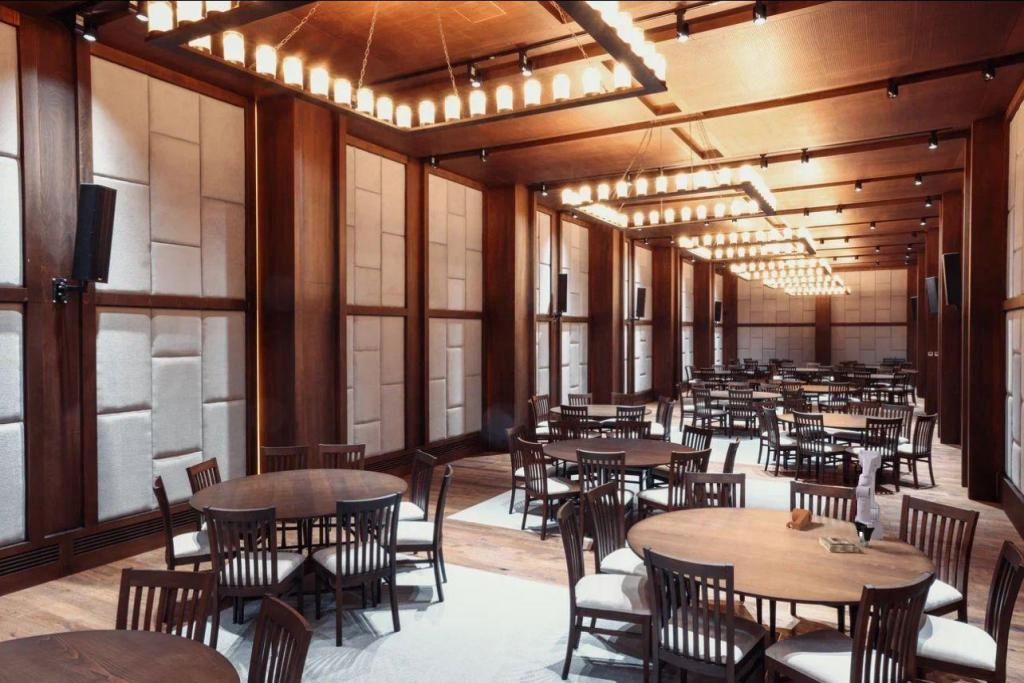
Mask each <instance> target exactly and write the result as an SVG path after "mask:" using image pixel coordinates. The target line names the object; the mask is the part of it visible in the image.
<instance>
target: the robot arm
mask: <svg viewBox="0 0 1024 683" xmlns="http://www.w3.org/2000/svg"><path fill="white" fill-rule="evenodd" d="M857 458H858V462H859V464H860V467H862V473H861V474H860V475H859V477H858V479H859V480H858V485H857V486H856V488H855V495H856V496H855V497H856V501H857V505H856V506H857V508H856V509H857V510H856V511H857V514H856V515H855V519H854V521H852V522H853V524H854V527H855V529H856V533H857V536H858V537H859V532H860V531H863V533H864V540H865V541H869V542H870V541H871V540H870V539H878V541H884V526H883V522H882V521H881V505H880V504H879V503H877V502H876V501H875V494H876V493H875V491H876V489H875V487H876V472H877V469H880V468H881V467H882V466H881V465H882V453H881V451H877V450H866V449H865V450H864V449H860V450H858V457H857ZM880 539H882V540H880Z"/></svg>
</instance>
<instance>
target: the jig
mask: <svg viewBox="0 0 1024 683" xmlns="http://www.w3.org/2000/svg"><path fill="white" fill-rule="evenodd" d="M818 541H819V542H818V544H819V543H820V544H819V545H821V546H822V547H823V546H824V547H825V548H826V551H828V552H829V553H842V552H854V553H853V554H859V546H858V544H856V543H854V542H853V541H852V540H850V539H849V538H848V537H829V536H828V537H823V536H822V537H820V536H819V537H818ZM824 547H823V548H824ZM825 548H824V549H825Z"/></svg>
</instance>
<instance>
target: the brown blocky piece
mask: <svg viewBox="0 0 1024 683" xmlns="http://www.w3.org/2000/svg"><path fill="white" fill-rule="evenodd" d="M791 519H792V521H789V522H787V523H786V524H785V526H786V528H787V527H788V528H787V529H789V528H792V529H791V530H794V529H796V530H795V531H801V530H802V529H801V528H803V527H804V528H805V526H806V525H807V526H809V525H810V524H812V519H813V513H812V511H811V510H810V509H804V508H796V507H794V508H793V509H792V513H791ZM809 523H810V524H809ZM808 524H809V525H808ZM790 525H791V526H790ZM807 526H806V527H807ZM804 528H803V529H804ZM800 529H801V530H800Z"/></svg>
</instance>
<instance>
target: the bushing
mask: <svg viewBox="0 0 1024 683" xmlns="http://www.w3.org/2000/svg"><path fill="white" fill-rule="evenodd" d="M858 541H859V542H858V545H859V546H858V547H860V546H861V547H860V548H862V547H866V548H865V549H868V548H870V547H869V542H870V541H865V540H864V533H863V531H860V532H859V536H858ZM867 547H868V548H867Z"/></svg>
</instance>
